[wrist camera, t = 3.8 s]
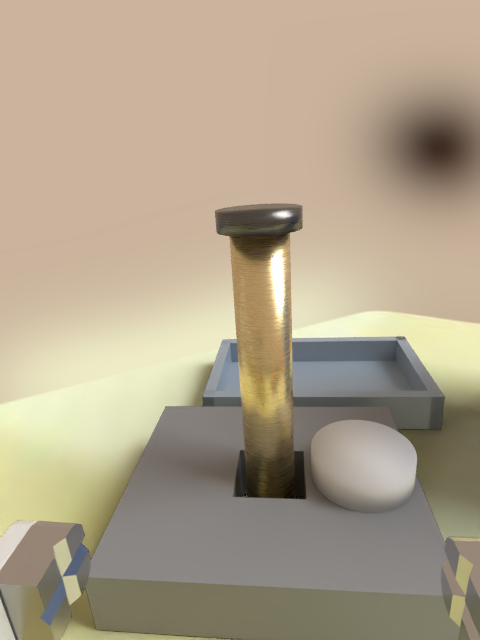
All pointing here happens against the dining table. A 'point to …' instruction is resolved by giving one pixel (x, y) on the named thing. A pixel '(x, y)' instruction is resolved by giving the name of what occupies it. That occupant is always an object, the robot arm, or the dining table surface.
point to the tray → (344, 378)
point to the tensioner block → (273, 536)
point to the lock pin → (264, 340)
